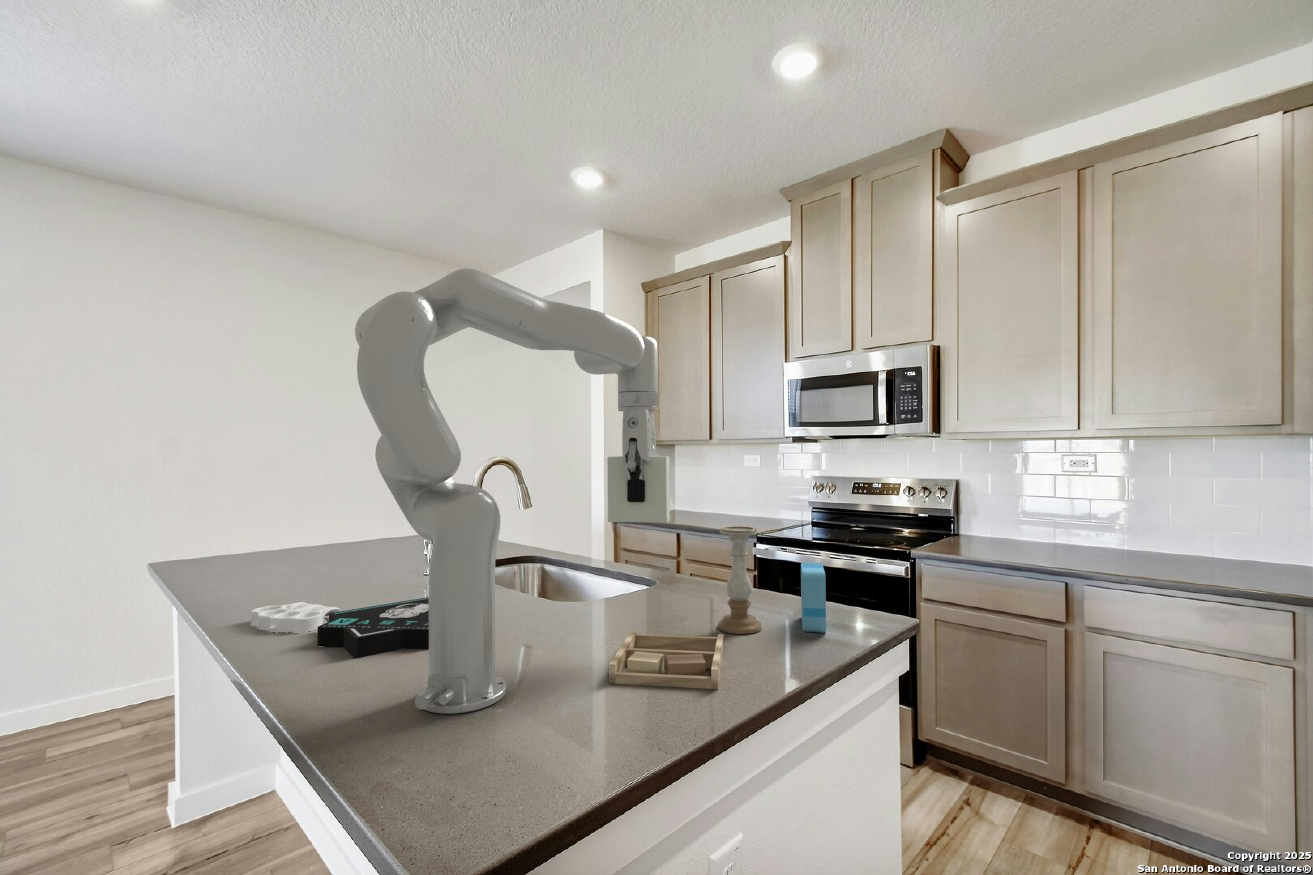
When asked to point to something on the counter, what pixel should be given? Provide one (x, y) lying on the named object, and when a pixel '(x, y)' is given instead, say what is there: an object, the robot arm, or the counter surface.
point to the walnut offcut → (686, 665)
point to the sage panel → (655, 491)
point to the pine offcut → (645, 663)
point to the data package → (813, 597)
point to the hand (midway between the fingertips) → (638, 499)
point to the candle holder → (739, 584)
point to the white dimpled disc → (290, 617)
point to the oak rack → (668, 646)
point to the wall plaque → (378, 628)
